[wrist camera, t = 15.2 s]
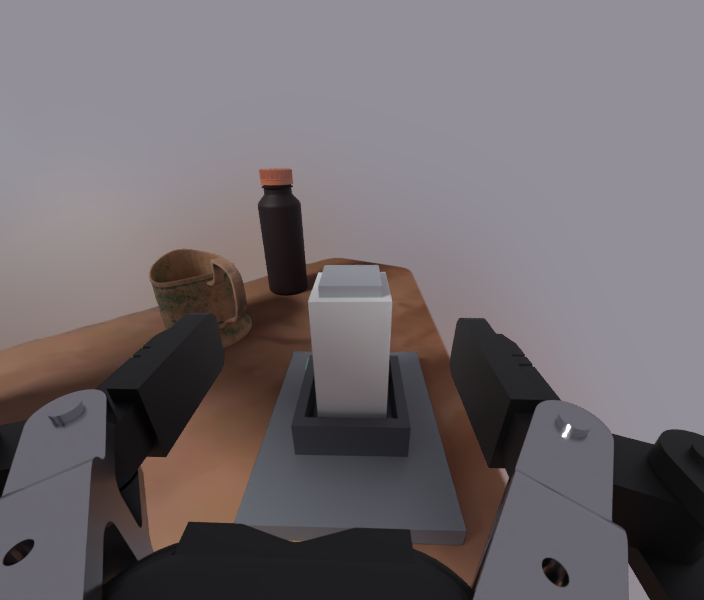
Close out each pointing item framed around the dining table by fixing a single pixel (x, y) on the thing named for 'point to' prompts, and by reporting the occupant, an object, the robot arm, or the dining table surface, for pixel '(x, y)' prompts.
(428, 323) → the dining table surface
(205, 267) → the mug
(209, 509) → the dining table surface
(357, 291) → the grey tall block
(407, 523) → the dock
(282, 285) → the bottle
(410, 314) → the dining table surface
